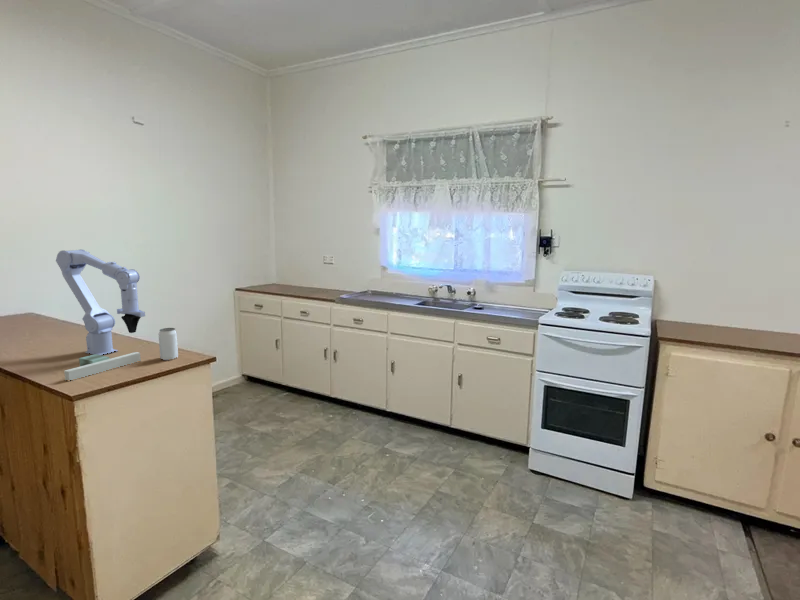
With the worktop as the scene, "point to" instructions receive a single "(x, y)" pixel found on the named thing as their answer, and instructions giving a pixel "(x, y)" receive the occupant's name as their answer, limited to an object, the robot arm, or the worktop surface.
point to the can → (168, 343)
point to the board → (101, 366)
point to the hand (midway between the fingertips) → (132, 332)
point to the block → (92, 359)
